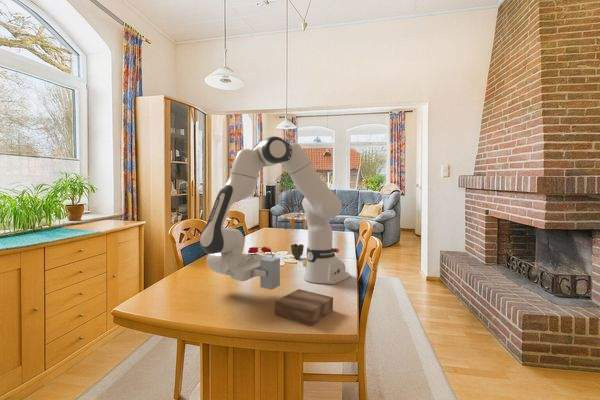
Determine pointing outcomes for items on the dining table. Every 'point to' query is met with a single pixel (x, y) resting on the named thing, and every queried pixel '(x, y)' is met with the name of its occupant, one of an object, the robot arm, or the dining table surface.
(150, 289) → the dining table surface
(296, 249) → the dark brown tapered lump
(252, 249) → the glasses
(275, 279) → the slate block
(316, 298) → the walnut block
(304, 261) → the bread roll
